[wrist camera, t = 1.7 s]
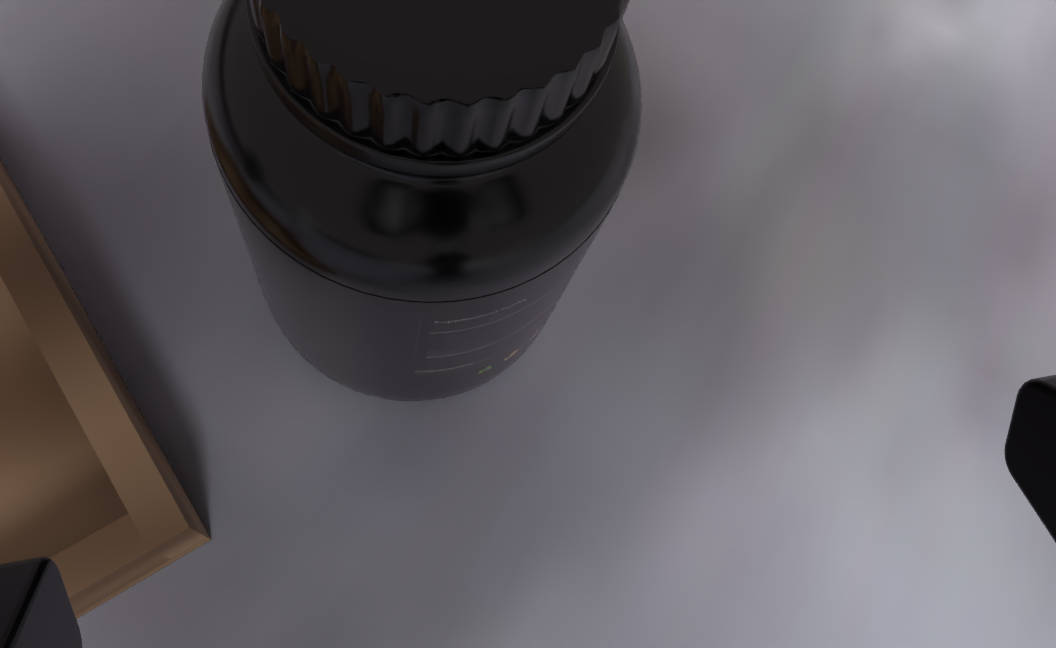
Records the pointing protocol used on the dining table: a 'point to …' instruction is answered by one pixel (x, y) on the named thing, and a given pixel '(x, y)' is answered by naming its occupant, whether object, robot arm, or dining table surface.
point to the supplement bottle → (419, 172)
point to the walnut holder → (74, 436)
